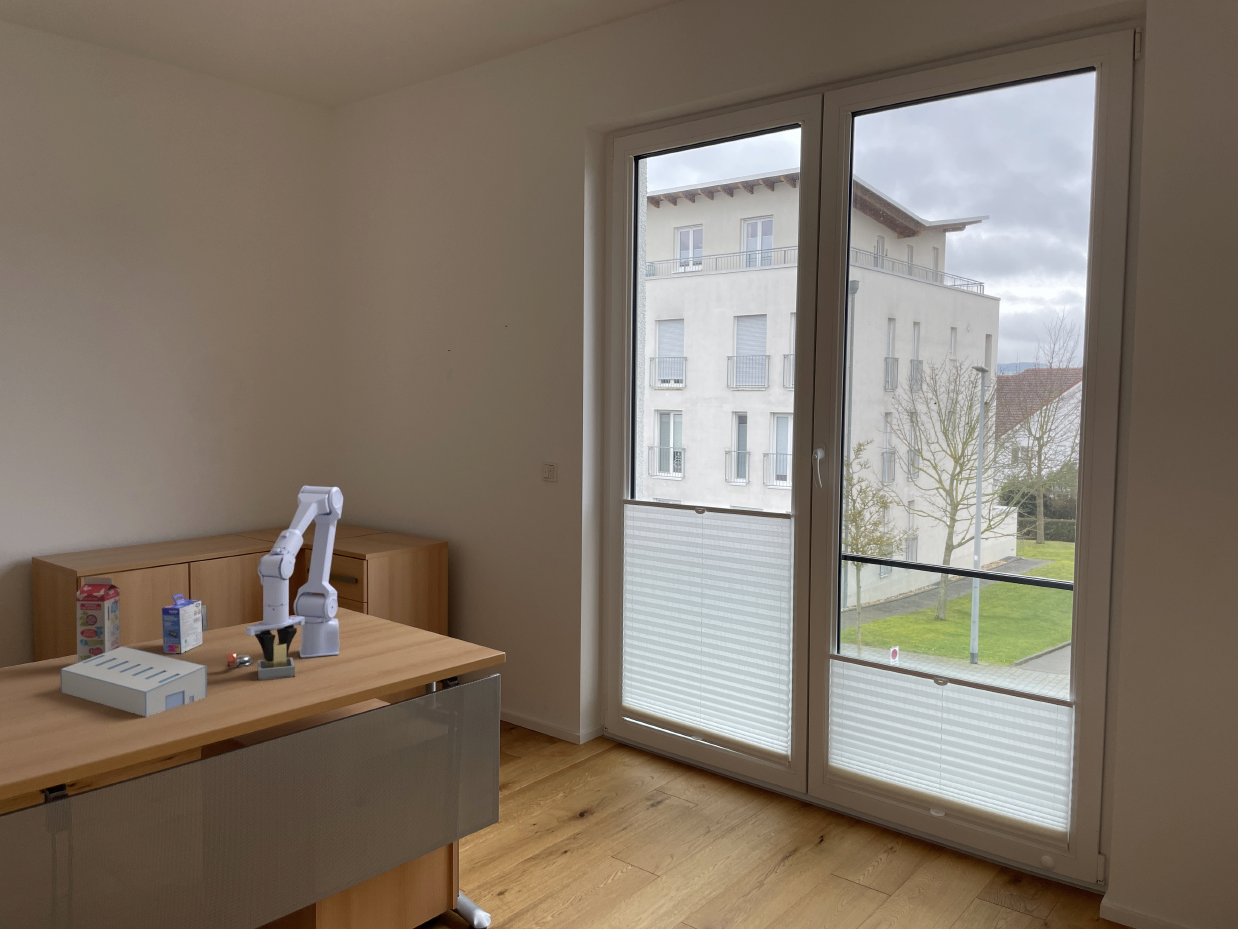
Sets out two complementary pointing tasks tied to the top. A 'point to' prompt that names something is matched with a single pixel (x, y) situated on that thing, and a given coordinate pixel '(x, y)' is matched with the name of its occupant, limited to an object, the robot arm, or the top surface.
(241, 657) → the crank
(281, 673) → the tray
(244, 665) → the bearing
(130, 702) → the warehouse
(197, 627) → the ink cartridge box
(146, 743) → the top surface
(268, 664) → the block
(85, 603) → the juice carton
